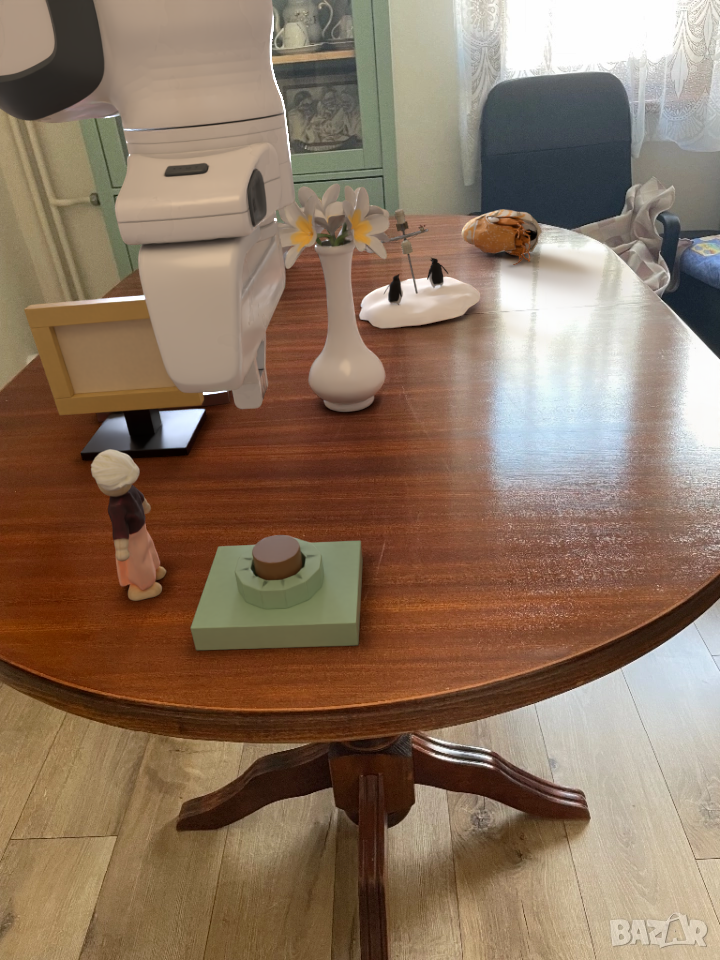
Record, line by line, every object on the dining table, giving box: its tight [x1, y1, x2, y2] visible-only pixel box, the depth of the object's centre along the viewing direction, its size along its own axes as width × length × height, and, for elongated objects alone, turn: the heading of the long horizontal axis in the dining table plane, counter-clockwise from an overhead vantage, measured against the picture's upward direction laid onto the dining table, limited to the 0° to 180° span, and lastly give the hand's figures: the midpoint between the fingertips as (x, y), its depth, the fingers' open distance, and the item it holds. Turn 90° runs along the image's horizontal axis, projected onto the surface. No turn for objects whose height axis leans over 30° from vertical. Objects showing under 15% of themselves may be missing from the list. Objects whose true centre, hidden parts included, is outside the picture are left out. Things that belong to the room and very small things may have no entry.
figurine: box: [358, 208, 481, 329], centre depth 114 cm, size 20×18×16 cm
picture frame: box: [23, 294, 204, 416], centre depth 77 cm, size 16×2×12 cm, turn 88°
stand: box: [80, 408, 208, 461], centre depth 82 cm, size 12×10×12 cm
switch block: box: [190, 537, 364, 651], centre depth 56 cm, size 12×10×4 cm
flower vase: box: [277, 183, 391, 413], centre depth 83 cm, size 13×18×25 cm
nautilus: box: [461, 209, 543, 266], centre depth 141 cm, size 8×22×15 cm
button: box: [252, 534, 302, 580], centre depth 55 cm, size 4×4×2 cm
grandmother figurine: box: [90, 449, 167, 602], centre depth 57 cm, size 8×4×13 cm, turn 13°
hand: (252, 399), depth 48 cm, fingers closed
